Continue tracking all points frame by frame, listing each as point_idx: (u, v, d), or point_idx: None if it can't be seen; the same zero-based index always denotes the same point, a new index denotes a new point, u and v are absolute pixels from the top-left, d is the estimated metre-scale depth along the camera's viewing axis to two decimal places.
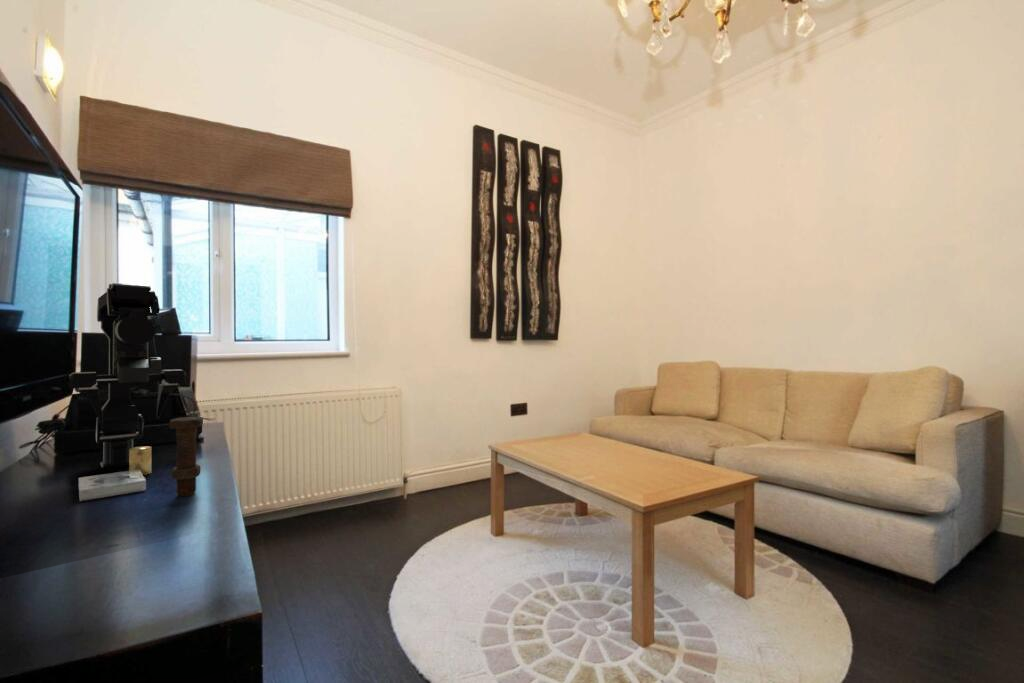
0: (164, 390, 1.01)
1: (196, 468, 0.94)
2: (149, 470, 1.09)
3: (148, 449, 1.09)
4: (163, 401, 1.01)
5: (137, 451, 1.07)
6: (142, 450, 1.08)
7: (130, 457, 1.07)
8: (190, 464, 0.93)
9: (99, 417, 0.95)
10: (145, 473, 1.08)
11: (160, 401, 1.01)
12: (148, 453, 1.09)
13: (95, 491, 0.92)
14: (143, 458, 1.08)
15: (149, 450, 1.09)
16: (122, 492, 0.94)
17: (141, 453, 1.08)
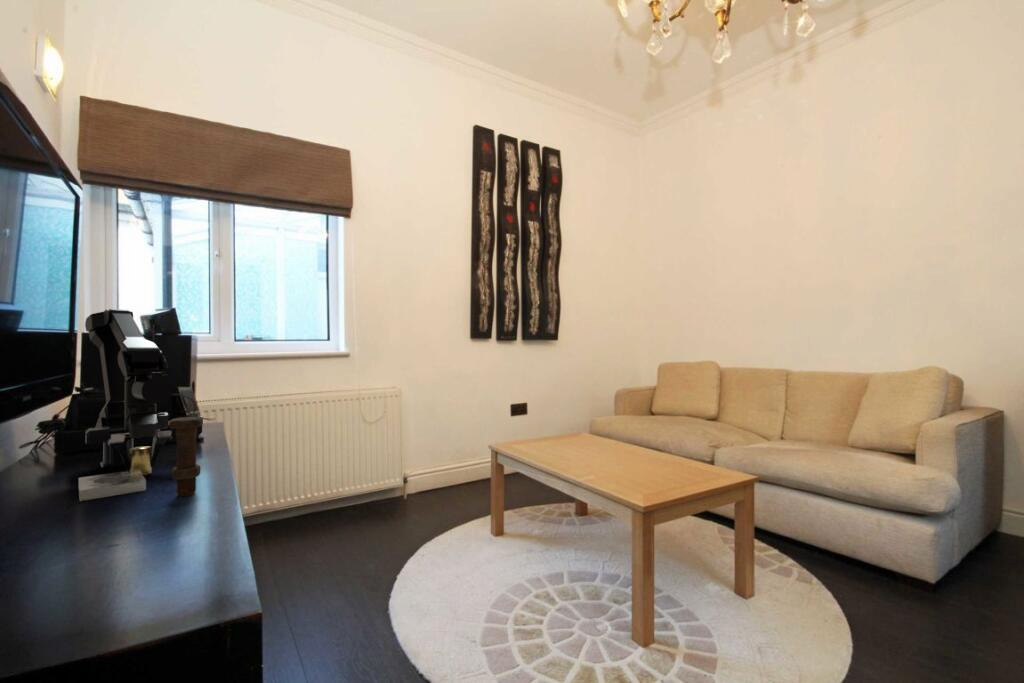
0: (158, 442, 1.09)
1: (196, 468, 0.94)
2: (149, 470, 1.09)
3: (148, 449, 1.09)
4: (157, 452, 1.10)
5: (137, 451, 1.07)
6: (142, 450, 1.08)
7: (130, 457, 1.07)
8: (190, 464, 0.93)
9: (126, 466, 1.07)
10: (145, 473, 1.08)
11: (154, 452, 1.10)
12: (148, 453, 1.09)
13: (95, 491, 0.92)
14: (143, 458, 1.08)
15: (149, 450, 1.09)
16: (122, 492, 0.94)
17: (141, 453, 1.08)
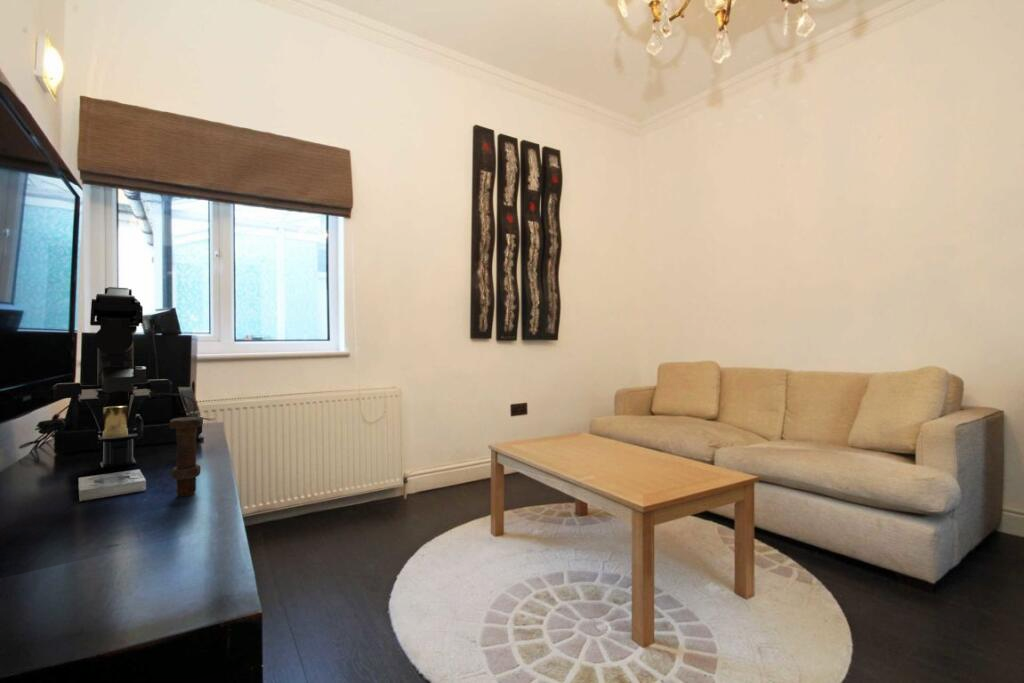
0: (135, 400, 0.99)
1: (196, 468, 0.94)
2: (125, 431, 0.99)
3: (124, 408, 0.99)
4: (134, 412, 1.00)
5: (112, 409, 0.97)
6: (117, 408, 0.97)
7: (104, 416, 0.97)
8: (190, 464, 0.93)
9: (100, 426, 0.96)
10: (121, 434, 0.98)
11: (131, 412, 0.99)
12: (124, 412, 0.98)
13: (95, 491, 0.92)
14: (118, 418, 0.97)
15: (125, 409, 0.99)
16: (122, 492, 0.94)
17: (116, 412, 0.97)
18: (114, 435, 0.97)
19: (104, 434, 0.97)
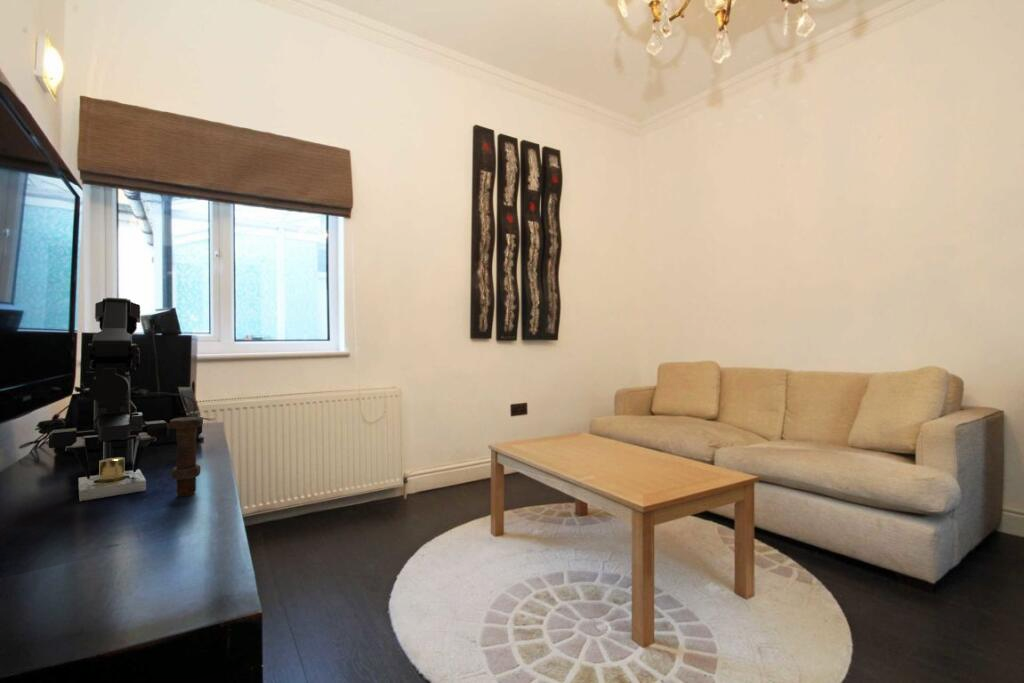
0: (140, 444, 0.99)
1: (196, 468, 0.94)
2: None
3: (121, 461, 0.98)
4: (139, 455, 1.00)
5: (108, 463, 0.96)
6: (114, 462, 0.97)
7: (100, 470, 0.96)
8: (190, 464, 0.93)
9: (86, 473, 0.95)
10: None
11: (136, 455, 1.00)
12: (120, 465, 0.98)
13: (95, 491, 0.92)
14: (114, 471, 0.97)
15: (122, 462, 0.98)
16: (122, 492, 0.94)
17: (113, 466, 0.96)
18: None
19: None
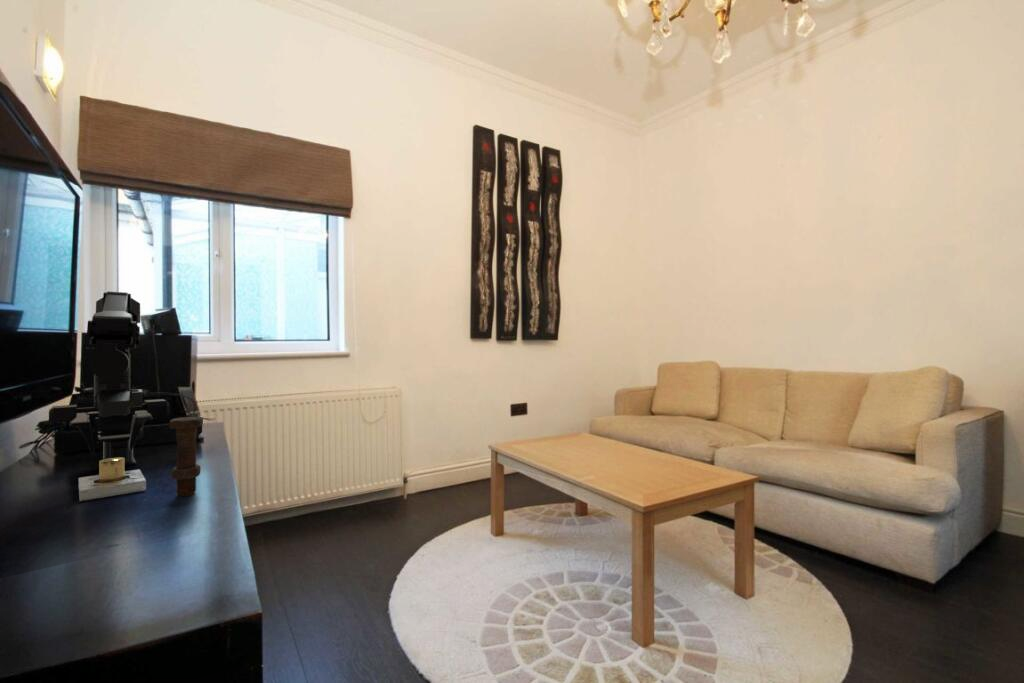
0: (136, 422, 0.99)
1: (196, 468, 0.94)
2: None
3: (121, 461, 0.98)
4: (136, 433, 1.00)
5: (108, 463, 0.96)
6: (114, 462, 0.97)
7: (100, 470, 0.96)
8: (190, 464, 0.93)
9: (91, 449, 0.95)
10: None
11: (132, 433, 0.99)
12: (120, 465, 0.98)
13: (95, 491, 0.92)
14: (114, 471, 0.97)
15: (122, 462, 0.98)
16: (122, 492, 0.94)
17: (113, 466, 0.96)
18: None
19: None
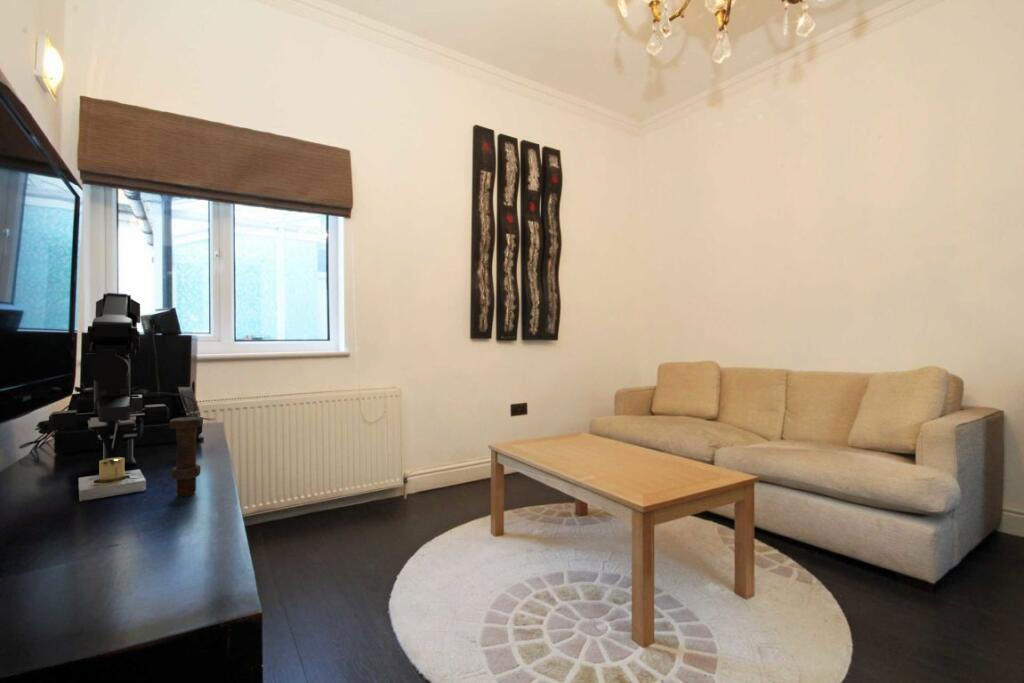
0: (119, 429, 0.97)
1: (196, 468, 0.94)
2: None
3: (121, 461, 0.98)
4: (119, 440, 0.98)
5: (108, 463, 0.96)
6: (114, 462, 0.97)
7: (100, 470, 0.96)
8: (190, 464, 0.93)
9: (109, 453, 0.97)
10: None
11: (115, 440, 0.97)
12: (120, 465, 0.98)
13: (95, 491, 0.92)
14: (114, 471, 0.97)
15: (122, 462, 0.98)
16: (122, 492, 0.94)
17: (113, 466, 0.96)
18: None
19: None
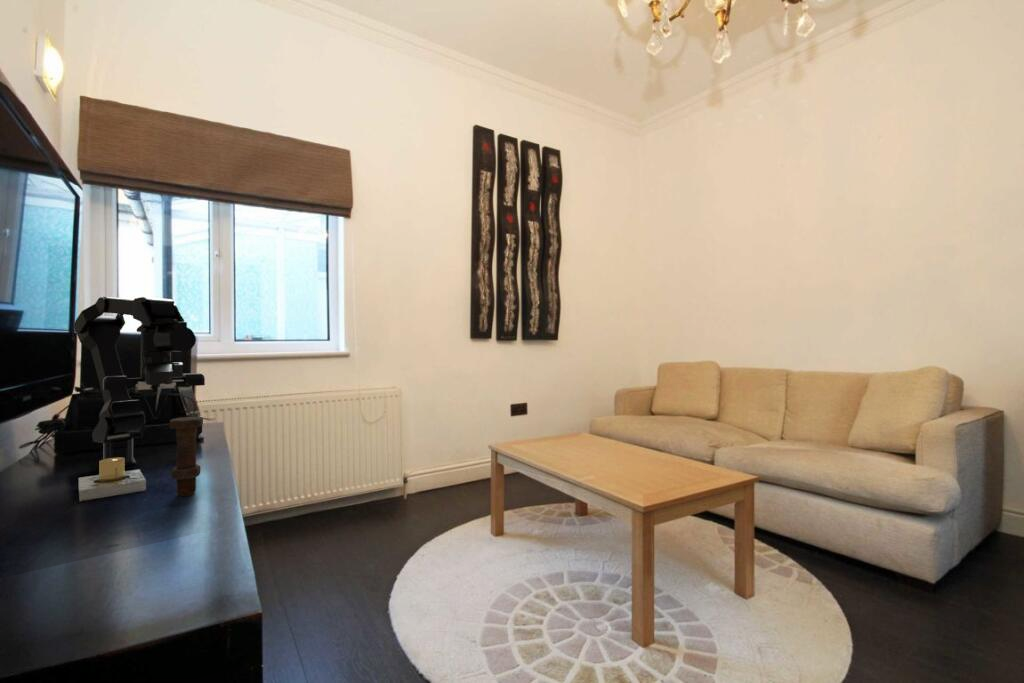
0: (162, 393, 1.11)
1: (196, 468, 0.94)
2: None
3: (121, 461, 0.98)
4: (161, 403, 1.11)
5: (108, 463, 0.96)
6: (114, 462, 0.97)
7: (100, 470, 0.96)
8: (190, 464, 0.93)
9: (153, 413, 1.11)
10: None
11: (158, 403, 1.11)
12: (120, 465, 0.98)
13: (95, 491, 0.92)
14: (114, 471, 0.97)
15: (122, 462, 0.98)
16: (122, 492, 0.94)
17: (113, 466, 0.96)
18: None
19: None
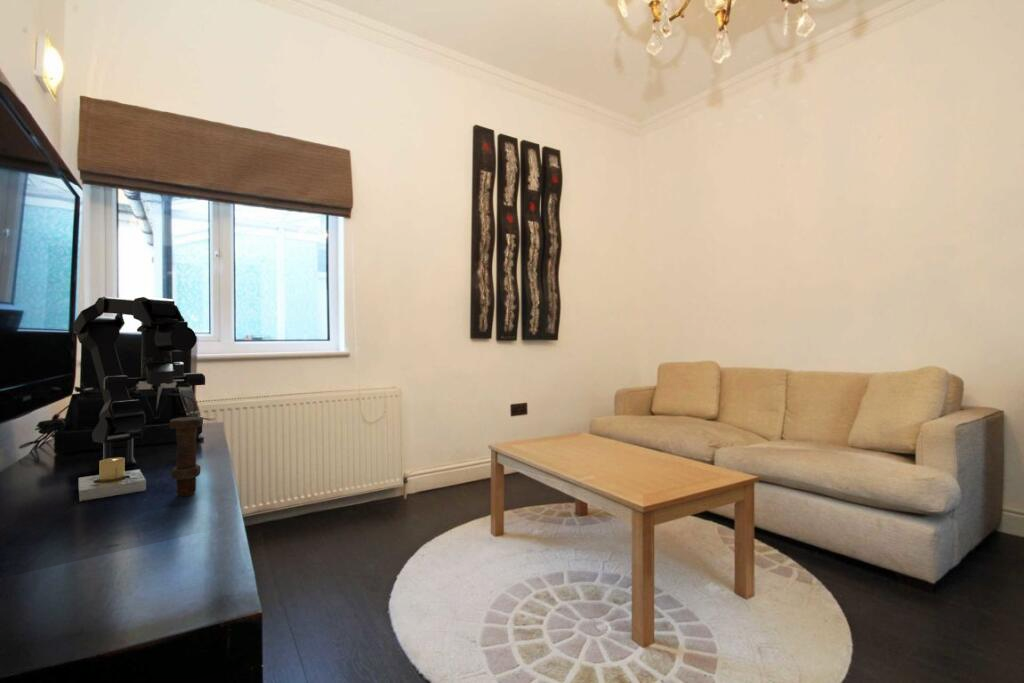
0: (163, 392, 1.11)
1: (196, 468, 0.94)
2: None
3: (121, 461, 0.98)
4: (162, 402, 1.12)
5: (108, 463, 0.96)
6: (114, 462, 0.97)
7: (100, 470, 0.96)
8: (190, 464, 0.93)
9: (154, 413, 1.11)
10: None
11: (159, 402, 1.11)
12: (120, 465, 0.98)
13: (95, 491, 0.92)
14: (114, 471, 0.97)
15: (122, 462, 0.98)
16: (122, 492, 0.94)
17: (113, 466, 0.96)
18: None
19: None
